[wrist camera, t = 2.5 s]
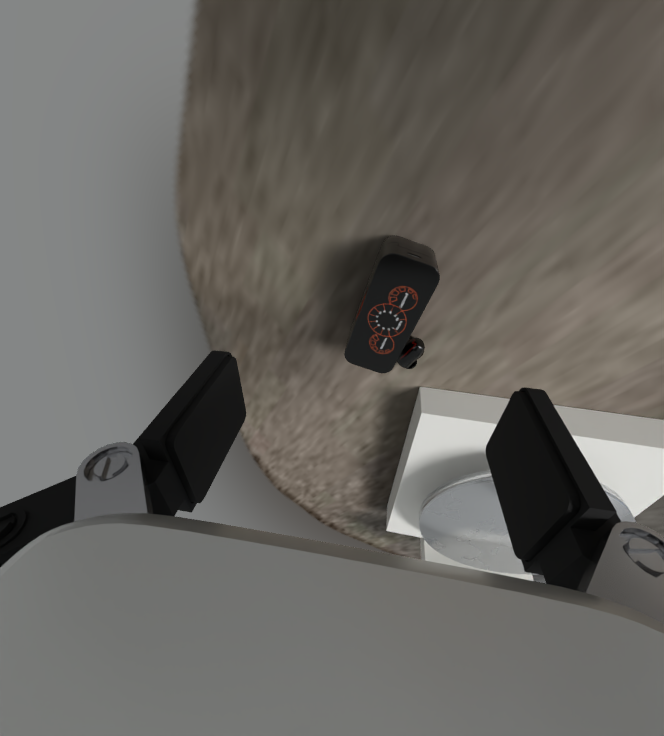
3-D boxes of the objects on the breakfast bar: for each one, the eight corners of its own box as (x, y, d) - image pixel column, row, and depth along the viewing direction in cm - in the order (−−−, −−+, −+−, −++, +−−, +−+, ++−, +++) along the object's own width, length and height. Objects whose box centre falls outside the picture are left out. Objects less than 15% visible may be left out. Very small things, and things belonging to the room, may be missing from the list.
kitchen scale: (420, 386, 21) (427, 511, 14) (683, 422, 19) (837, 587, 12) (384, 516, 32) (379, 620, 26) (547, 547, 31) (588, 668, 24)
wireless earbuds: (345, 340, 20) (337, 370, 18) (387, 228, 16) (383, 249, 13) (412, 362, 20) (414, 396, 18) (473, 259, 16) (486, 285, 13)
